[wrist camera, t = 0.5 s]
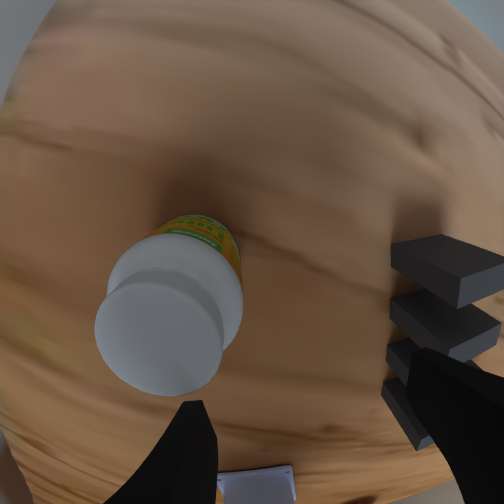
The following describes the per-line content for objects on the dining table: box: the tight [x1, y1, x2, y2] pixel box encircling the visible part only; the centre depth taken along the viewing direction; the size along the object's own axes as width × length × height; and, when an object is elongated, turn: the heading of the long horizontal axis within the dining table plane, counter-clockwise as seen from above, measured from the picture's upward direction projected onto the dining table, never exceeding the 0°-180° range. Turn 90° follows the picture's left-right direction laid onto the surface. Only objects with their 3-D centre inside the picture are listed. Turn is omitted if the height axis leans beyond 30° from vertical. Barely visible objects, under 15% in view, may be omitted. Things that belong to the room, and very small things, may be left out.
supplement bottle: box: [95, 215, 244, 396], centre depth 12 cm, size 5×5×10 cm
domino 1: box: [391, 234, 504, 309], centre depth 14 cm, size 2×5×7 cm, turn 98°
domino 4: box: [381, 377, 435, 451], centre depth 17 cm, size 2×5×7 cm, turn 99°
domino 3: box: [386, 338, 482, 386], centre depth 16 cm, size 2×5×7 cm, turn 99°
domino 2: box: [390, 289, 502, 363], centre depth 15 cm, size 2×5×7 cm, turn 99°
